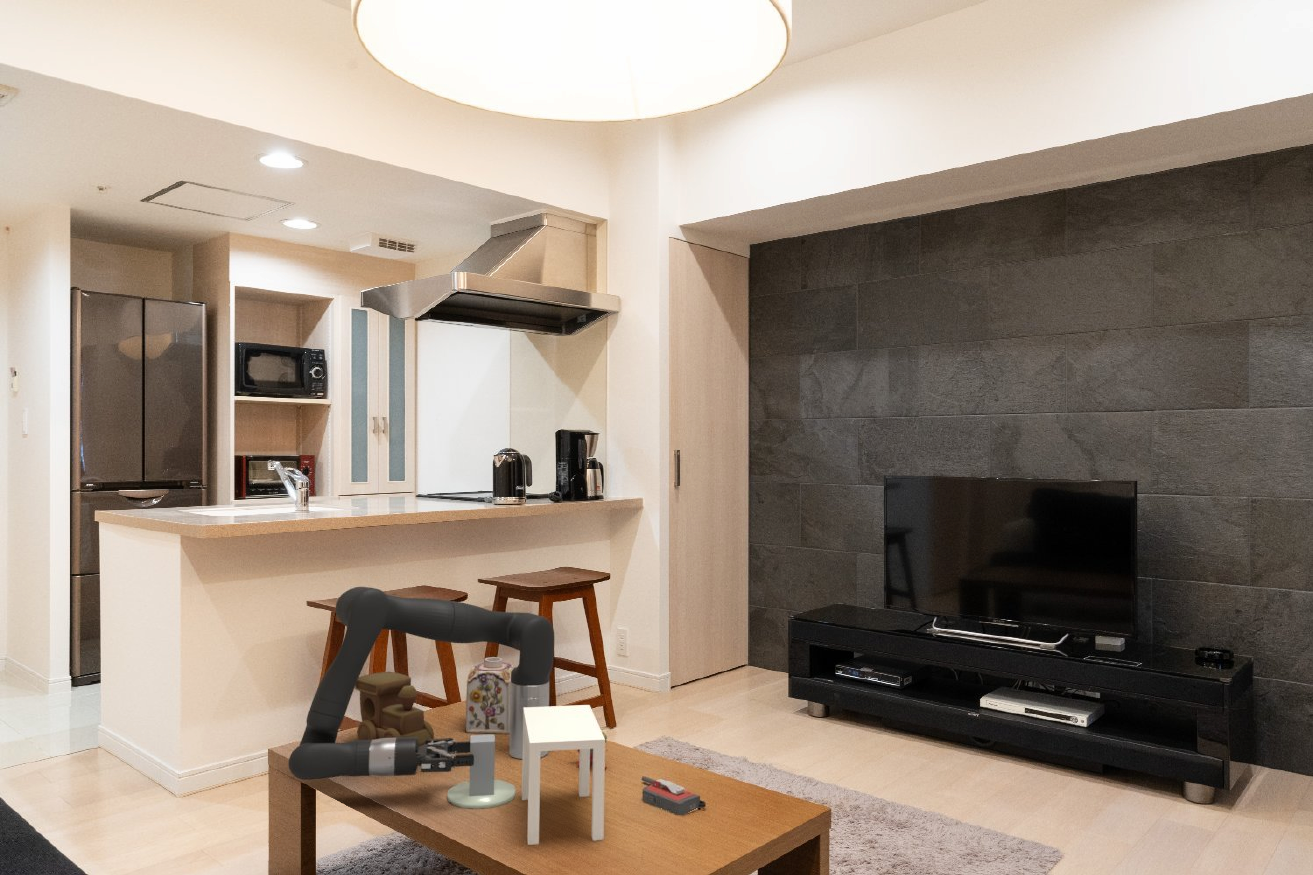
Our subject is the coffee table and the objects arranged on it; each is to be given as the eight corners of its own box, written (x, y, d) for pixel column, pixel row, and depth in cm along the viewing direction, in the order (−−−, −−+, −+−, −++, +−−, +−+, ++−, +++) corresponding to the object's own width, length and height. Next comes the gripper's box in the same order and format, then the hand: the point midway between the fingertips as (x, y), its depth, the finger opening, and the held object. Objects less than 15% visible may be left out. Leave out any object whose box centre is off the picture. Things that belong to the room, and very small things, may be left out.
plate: (477, 779, 199) (477, 774, 199) (528, 791, 192) (528, 786, 192) (433, 800, 186) (433, 795, 187) (486, 813, 180) (486, 808, 180)
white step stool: (527, 844, 166) (529, 742, 166) (521, 796, 189) (523, 707, 190) (603, 839, 168) (605, 739, 169) (588, 792, 192) (589, 704, 192)
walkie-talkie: (713, 808, 185) (645, 782, 199) (713, 787, 185) (646, 762, 200) (683, 820, 179) (616, 792, 193) (684, 797, 179) (616, 771, 193)
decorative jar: (475, 720, 244) (476, 653, 244) (518, 721, 243) (519, 654, 244) (464, 733, 232) (465, 663, 232) (509, 734, 231) (510, 664, 232)
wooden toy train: (350, 745, 221) (351, 677, 221) (390, 734, 230) (391, 669, 230) (397, 764, 208) (399, 691, 209) (438, 752, 217) (440, 682, 217)
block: (469, 787, 191) (470, 735, 191) (493, 786, 192) (494, 734, 192) (469, 796, 186) (470, 742, 187) (493, 794, 187) (494, 741, 188)
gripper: (391, 749, 179) (474, 745, 182) (397, 728, 193) (474, 725, 196) (390, 787, 179) (473, 783, 182) (396, 763, 193) (473, 759, 196)
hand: (474, 753), depth 189 cm, fingers open, 8 cm apart
